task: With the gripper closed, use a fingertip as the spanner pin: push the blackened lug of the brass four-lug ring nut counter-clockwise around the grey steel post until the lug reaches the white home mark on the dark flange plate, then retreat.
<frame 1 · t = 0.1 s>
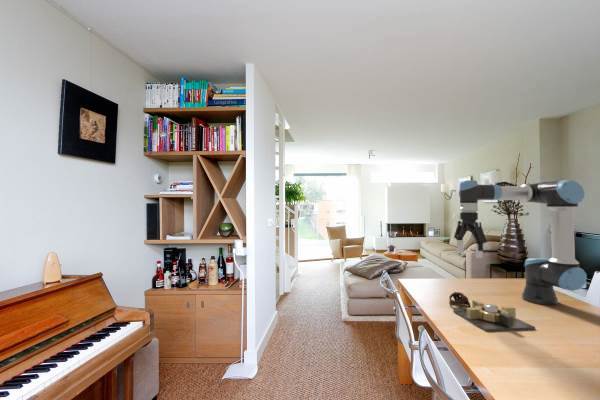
hand: (469, 255, 141), 28 cm above the table, fingers open, 13 cm apart
ring nut: (491, 312, 132), point 4 cm above the table, hinge at 0.0°
pottery mug: (459, 306, 150), on the table
flange plate: (491, 320, 132), on the table
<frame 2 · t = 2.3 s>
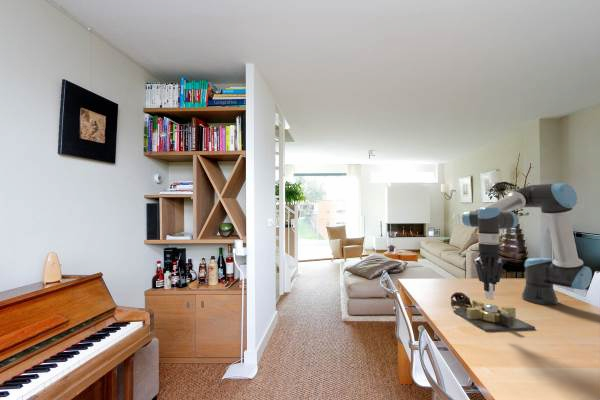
hand: (489, 298, 123), 13 cm above the table, fingers closed
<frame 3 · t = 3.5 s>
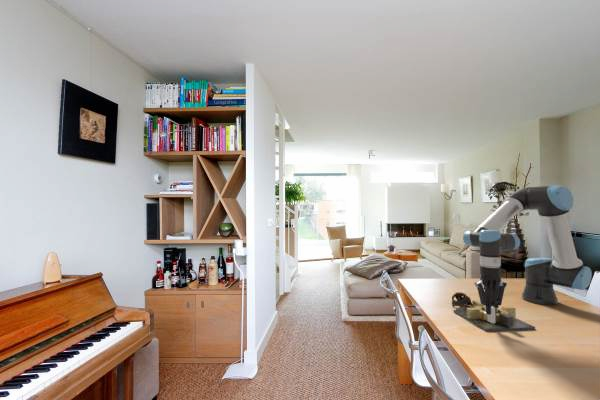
hand: (491, 321, 123), 3 cm above the table, fingers closed
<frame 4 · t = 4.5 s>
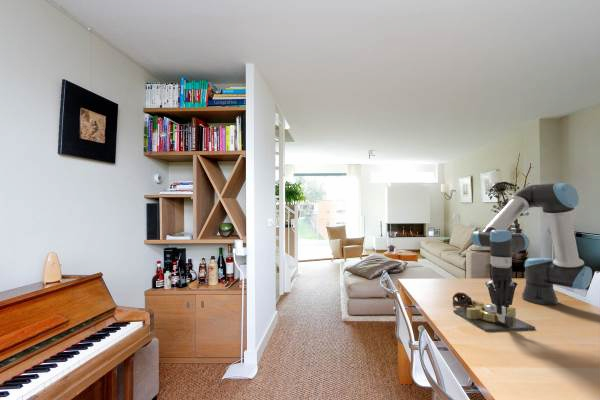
hand: (502, 321, 123), 3 cm above the table, fingers closed
ring nut: (491, 312, 132), point 4 cm above the table, hinge at 0.0°, touching gripper
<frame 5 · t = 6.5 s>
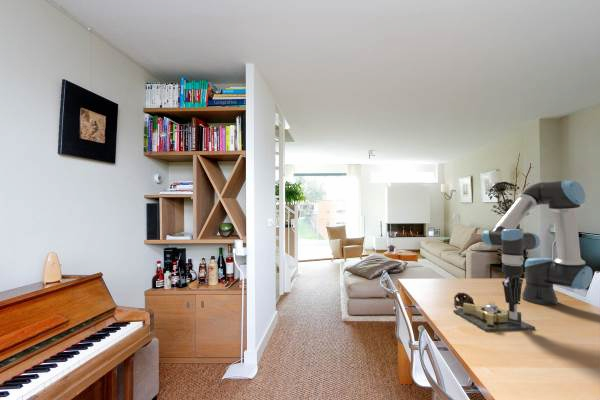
hand: (513, 318, 126), 3 cm above the table, fingers closed
ring nut: (491, 312, 132), point 4 cm above the table, hinge at 50.0°, touching gripper
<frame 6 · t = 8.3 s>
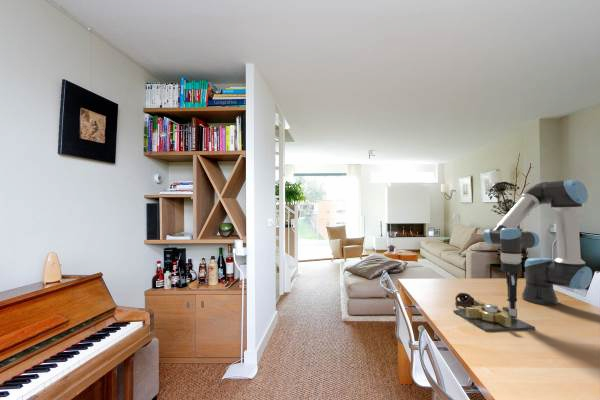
hand: (512, 315, 129), 3 cm above the table, fingers closed
ring nut: (491, 312, 132), point 4 cm above the table, hinge at 85.2°, touching gripper
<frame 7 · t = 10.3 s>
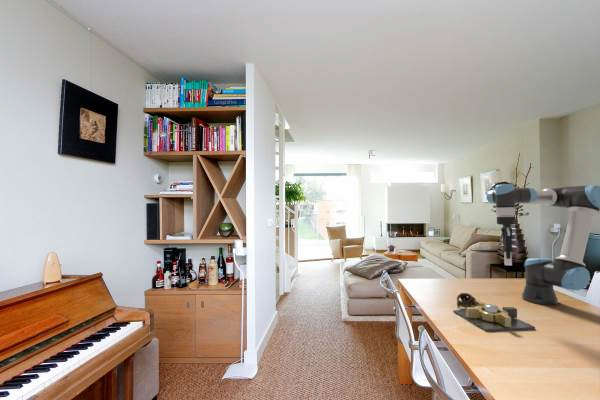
hand: (508, 265, 139), 24 cm above the table, fingers closed
ring nut: (491, 312, 132), point 4 cm above the table, hinge at 85.1°
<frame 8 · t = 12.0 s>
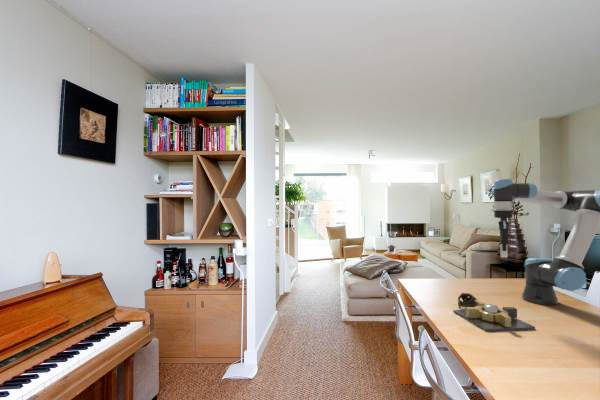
hand: (504, 257, 144), 26 cm above the table, fingers closed
at the end: ring nut at +85° (first picture: +0°) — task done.
